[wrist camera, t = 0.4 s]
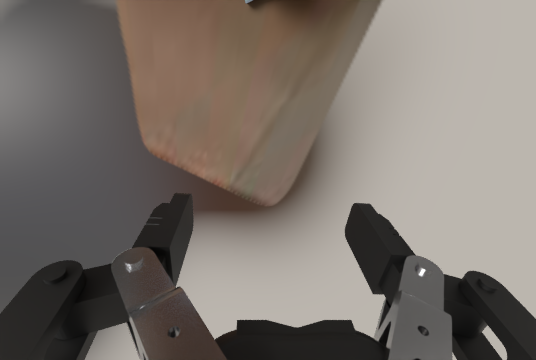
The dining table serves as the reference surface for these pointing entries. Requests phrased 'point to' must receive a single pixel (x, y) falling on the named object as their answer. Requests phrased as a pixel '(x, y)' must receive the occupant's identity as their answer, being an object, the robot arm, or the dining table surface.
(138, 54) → the dining table surface
